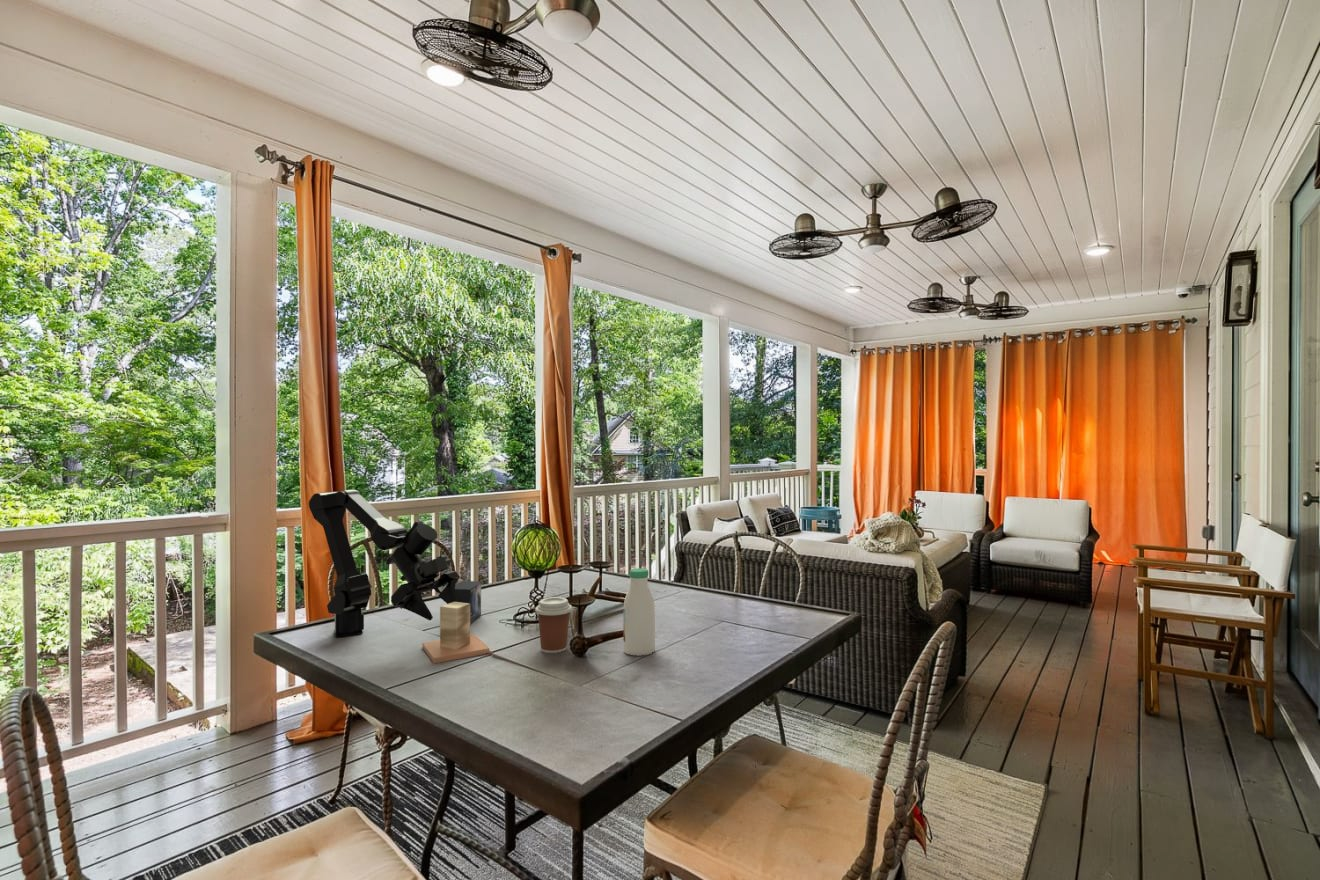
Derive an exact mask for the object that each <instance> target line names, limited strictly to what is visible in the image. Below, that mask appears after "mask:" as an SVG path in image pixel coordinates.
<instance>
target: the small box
mask: <svg viewBox="0 0 1320 880" xmlns="http://www.w3.org/2000/svg"><path fill="white" fill-rule="evenodd" d="M455 593H456V597H457V601H458V602H461V603H469V604H470V625H472V624H473V623H474V622H475V621H476V620H477V618H478V617H479V616H480V615H481V616H482V581H478V580H477V581H475V580H460V581H458V582H457V583H456V585H455ZM481 616H480V617H481ZM480 617H479V618H480ZM479 618H478V619H479ZM471 623H472V624H471Z"/></svg>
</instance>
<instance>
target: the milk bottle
mask: <svg viewBox="0 0 1320 880" xmlns="http://www.w3.org/2000/svg"><path fill="white" fill-rule="evenodd" d="M629 580H630V583H629V586H628V587H629V588H628V590H627V593H626V595H625V598H624V602H623V623H622V624H623V626H622V627H623V638H622V639H623V640H622V641H623V651H624V653H625V654H627V655H629V654H630V655H629V656H635V655H636V657H637V656H638V657H641V656H642V655H643V656H648V655H651V654H653V653H654V652H655V650H656V649H655V648H656V622H655V621H656V612H655V600H654V596H653V594H652V591H651V590H650V587H649V582H648V580H649V570H648V569H647V568H642V567H641V568H638V567H637V568H631V569H630V570H629ZM652 652H653V653H652Z"/></svg>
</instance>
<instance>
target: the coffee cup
mask: <svg viewBox="0 0 1320 880" xmlns="http://www.w3.org/2000/svg"><path fill="white" fill-rule="evenodd" d="M534 610H535V614H537V617H538V630H539V639H540V640H539V641H540V651H541V652H543V653H546V654H558V653H557V652H559V653H562V652H561V651H563V652H564V650H565V651H566V650H567V649H568V635H569V623H570V613H571V612H572V611H573V606H572V605H571V604H570V603H569V600H568V599H567V598H565V597H560V596H559V597H558V596H553V597H551V596H550V597H546V598H542V599H541V600H539V604H538V605H537V606H535V608H534ZM566 648H567V649H566Z"/></svg>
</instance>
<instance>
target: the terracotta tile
mask: <svg viewBox="0 0 1320 880" xmlns="http://www.w3.org/2000/svg"><path fill="white" fill-rule="evenodd" d="M421 644H422V645H421V646H422V647H421V648H422V649H423V651H424V652H425V653H426V655H427V657H429V659H430V661H433V662H432V663H433V664H438V663H442V662H448V661H453V660H460V659H464V658H470V657H475V656H480V655H481V656H482V655H486V653H487V654H490V647H489V646H487V644H485V642H484V641H483V640H481V639H480V638H479V636H477V635H476V634H470V644H469V645H466V646H464V647H462V648H460V649H457V650H453V649H447V648H441V647H440V639H438V640H431V641H426V642H422V643H421Z"/></svg>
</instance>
